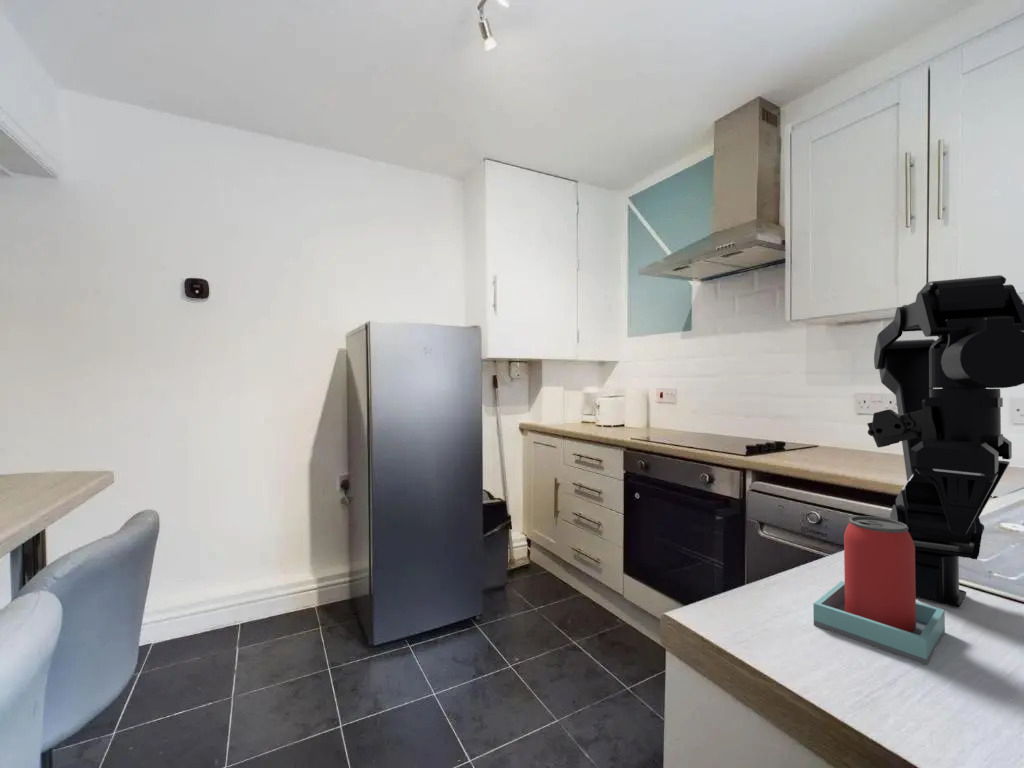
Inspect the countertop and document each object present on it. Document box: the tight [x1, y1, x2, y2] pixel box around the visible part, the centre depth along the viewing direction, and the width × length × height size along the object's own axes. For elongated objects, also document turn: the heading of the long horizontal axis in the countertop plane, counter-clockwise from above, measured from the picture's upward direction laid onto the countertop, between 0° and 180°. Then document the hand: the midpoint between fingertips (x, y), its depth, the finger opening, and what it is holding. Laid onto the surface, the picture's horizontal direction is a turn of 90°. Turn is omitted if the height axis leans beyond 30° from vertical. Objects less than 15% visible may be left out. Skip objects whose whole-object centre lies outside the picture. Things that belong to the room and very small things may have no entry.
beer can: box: [843, 515, 917, 633], centre depth 54 cm, size 7×7×12 cm
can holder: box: [813, 580, 946, 666], centre depth 54 cm, size 10×10×3 cm
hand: (964, 526), depth 51 cm, fingers open, 9 cm apart
